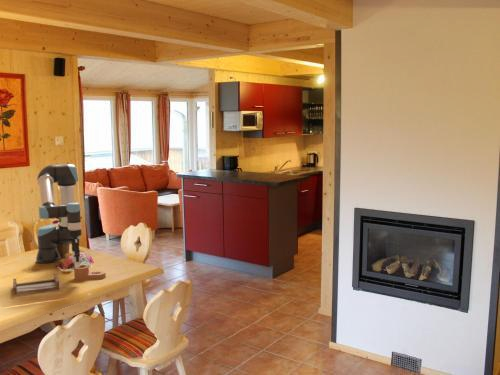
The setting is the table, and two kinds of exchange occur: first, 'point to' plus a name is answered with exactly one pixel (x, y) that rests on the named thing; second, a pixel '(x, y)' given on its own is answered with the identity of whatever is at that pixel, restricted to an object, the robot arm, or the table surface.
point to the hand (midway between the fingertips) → (76, 264)
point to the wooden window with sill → (36, 286)
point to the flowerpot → (62, 247)
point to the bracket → (87, 273)
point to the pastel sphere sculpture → (69, 265)
